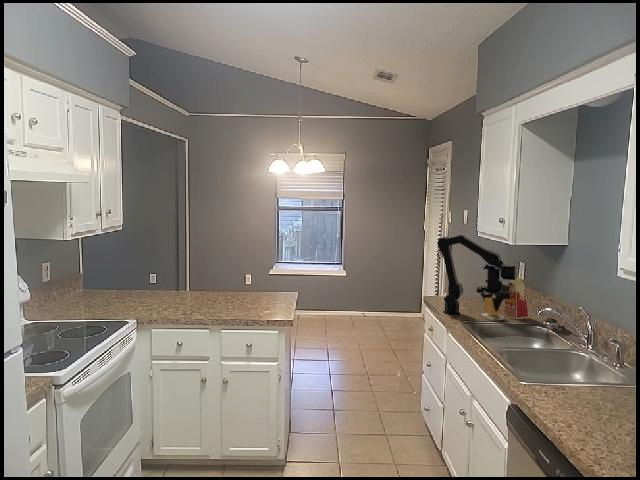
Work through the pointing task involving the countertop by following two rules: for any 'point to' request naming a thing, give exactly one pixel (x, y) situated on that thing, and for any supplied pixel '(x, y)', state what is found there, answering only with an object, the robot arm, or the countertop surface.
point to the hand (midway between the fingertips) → (492, 309)
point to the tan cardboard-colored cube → (490, 306)
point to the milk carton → (516, 301)
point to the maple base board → (492, 317)
